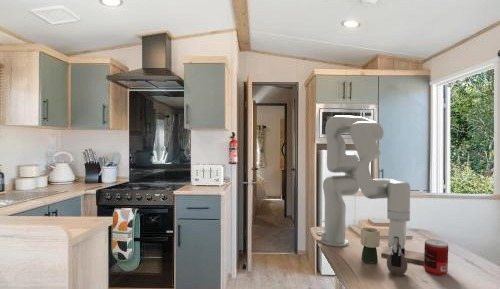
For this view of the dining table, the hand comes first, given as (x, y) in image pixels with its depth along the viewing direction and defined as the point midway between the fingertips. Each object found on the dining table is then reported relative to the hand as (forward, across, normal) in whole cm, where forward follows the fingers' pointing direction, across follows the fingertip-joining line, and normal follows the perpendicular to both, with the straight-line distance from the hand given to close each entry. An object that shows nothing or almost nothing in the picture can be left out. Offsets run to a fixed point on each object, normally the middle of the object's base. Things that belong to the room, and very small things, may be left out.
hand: (398, 262), depth 119 cm
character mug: (+4, -6, -11) cm, 14 cm away
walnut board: (+4, -20, 0) cm, 21 cm away
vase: (+4, 0, 0) cm, 5 cm away
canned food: (+5, -10, +12) cm, 16 cm away
